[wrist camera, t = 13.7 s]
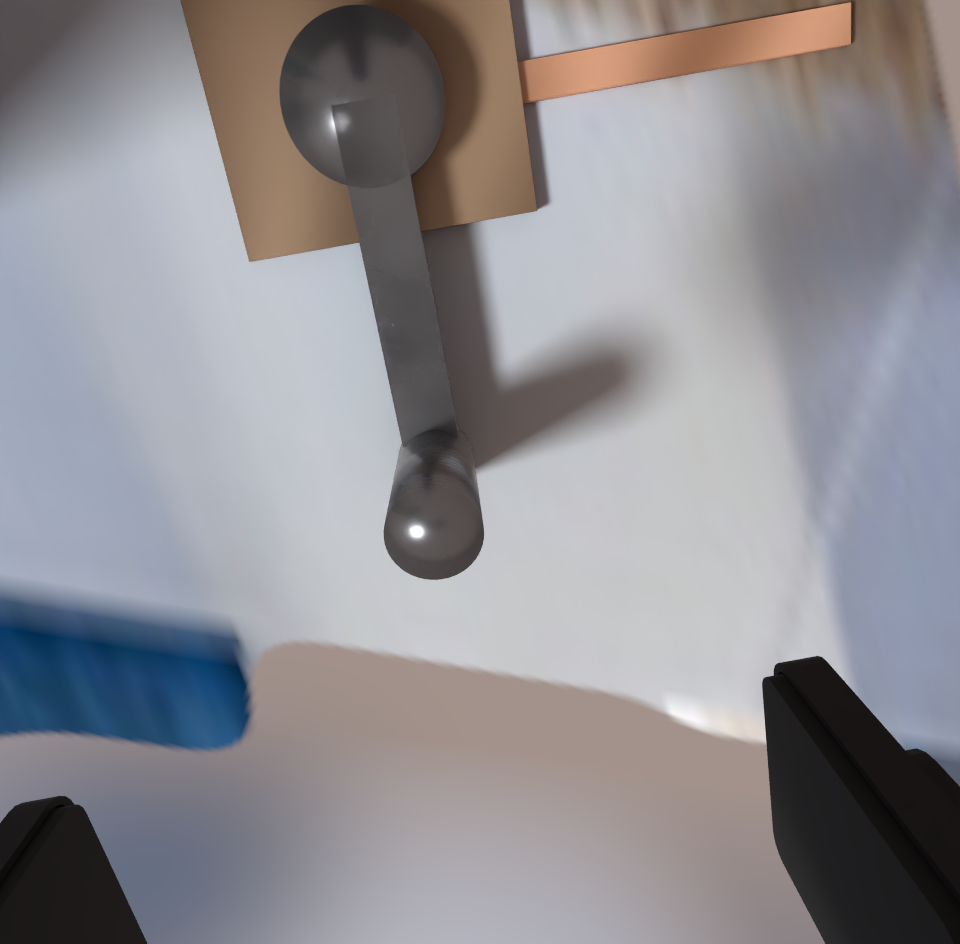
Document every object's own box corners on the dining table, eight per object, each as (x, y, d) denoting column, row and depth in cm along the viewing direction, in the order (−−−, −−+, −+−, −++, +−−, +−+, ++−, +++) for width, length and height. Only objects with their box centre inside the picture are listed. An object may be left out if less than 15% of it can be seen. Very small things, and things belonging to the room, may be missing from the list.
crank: (269, 31, 22) (192, -58, 15) (429, 2, 22) (422, -99, 15) (378, 504, 27) (357, 593, 20) (507, 481, 27) (529, 563, 20)
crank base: (253, 261, 25) (249, 261, 24) (185, -1, 22) (178, -7, 22) (845, 156, 25) (855, 154, 24) (846, -120, 22) (856, -129, 22)
